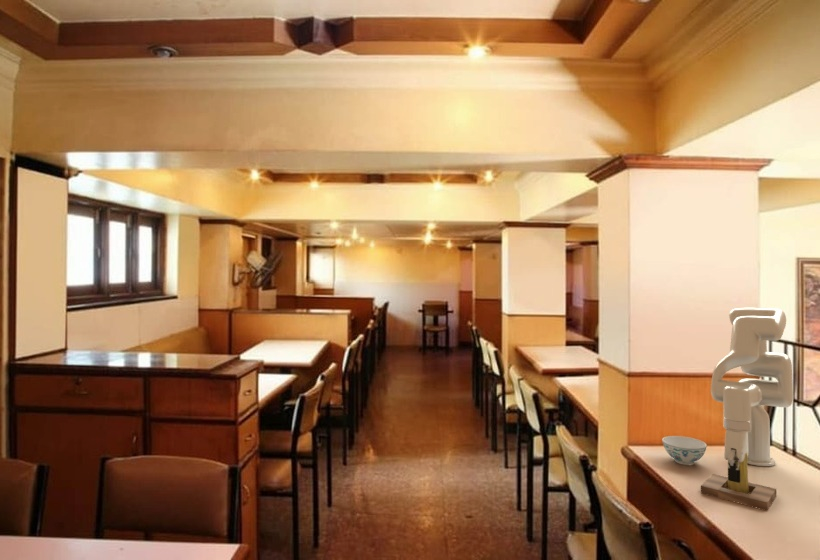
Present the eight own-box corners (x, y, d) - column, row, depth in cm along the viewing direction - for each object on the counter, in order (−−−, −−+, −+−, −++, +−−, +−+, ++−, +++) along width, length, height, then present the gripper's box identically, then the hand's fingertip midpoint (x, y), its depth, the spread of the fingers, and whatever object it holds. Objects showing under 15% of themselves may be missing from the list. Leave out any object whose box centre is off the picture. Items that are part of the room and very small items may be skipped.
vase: (753, 499, 157) (752, 454, 157) (731, 498, 158) (731, 453, 158) (744, 491, 163) (743, 448, 163) (723, 490, 164) (723, 447, 164)
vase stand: (712, 480, 171) (712, 473, 171) (776, 496, 159) (776, 488, 159) (700, 493, 162) (700, 485, 162) (767, 510, 149) (767, 502, 149)
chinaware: (691, 454, 198) (691, 435, 198) (716, 468, 183) (715, 447, 183) (654, 455, 197) (654, 436, 197) (676, 469, 182) (676, 448, 182)
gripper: (730, 417, 169) (731, 467, 169) (716, 427, 157) (717, 481, 157) (757, 421, 164) (757, 473, 164) (744, 432, 152) (745, 488, 151)
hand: (737, 477), depth 160 cm, fingers open, 9 cm apart
